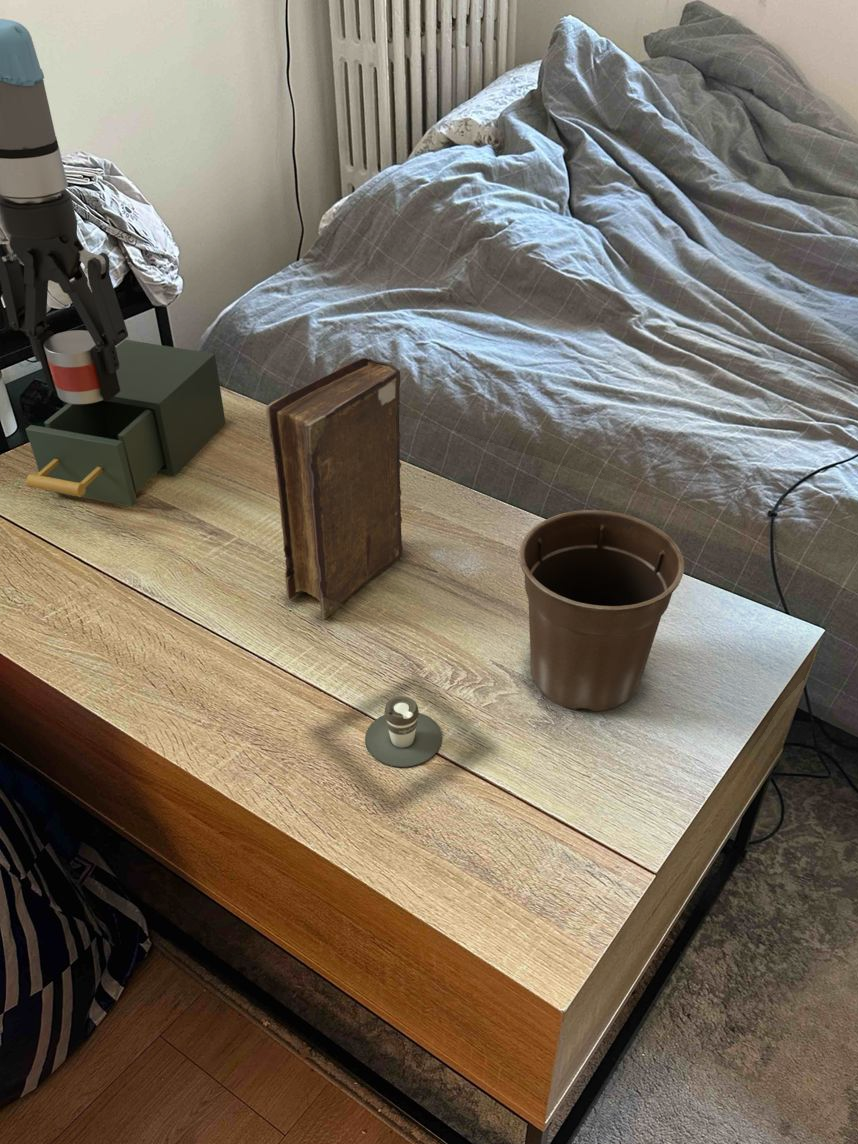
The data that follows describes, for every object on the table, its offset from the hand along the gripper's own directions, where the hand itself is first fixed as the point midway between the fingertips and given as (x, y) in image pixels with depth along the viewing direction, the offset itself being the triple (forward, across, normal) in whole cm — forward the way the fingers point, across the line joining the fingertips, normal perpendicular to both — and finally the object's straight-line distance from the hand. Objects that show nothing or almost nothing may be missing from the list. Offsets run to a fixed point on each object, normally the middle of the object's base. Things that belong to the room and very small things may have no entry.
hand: (84, 390), depth 120 cm
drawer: (+13, 0, 0) cm, 13 cm away
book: (+14, -38, +9) cm, 41 cm away
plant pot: (+14, -68, +18) cm, 72 cm away
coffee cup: (+14, -52, +33) cm, 63 cm away
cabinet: (+14, 0, -13) cm, 19 cm away
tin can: (0, 0, 0) cm, 0 cm away
